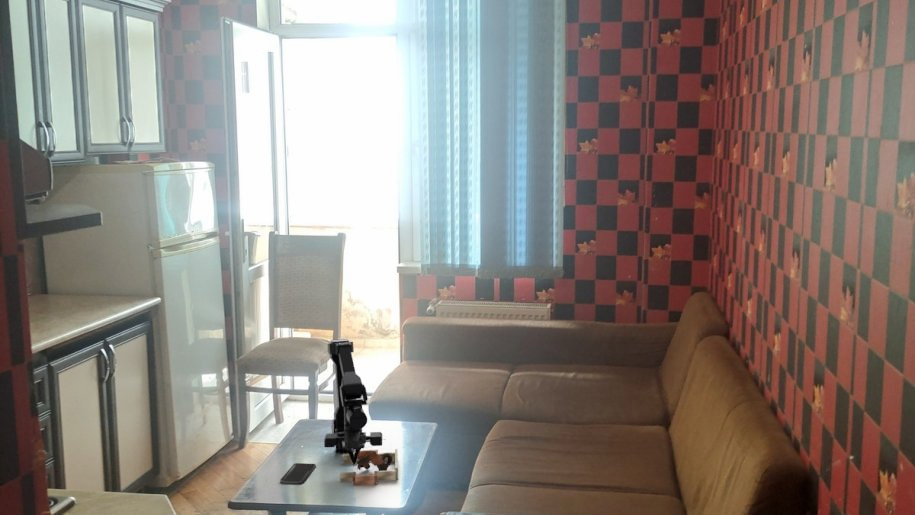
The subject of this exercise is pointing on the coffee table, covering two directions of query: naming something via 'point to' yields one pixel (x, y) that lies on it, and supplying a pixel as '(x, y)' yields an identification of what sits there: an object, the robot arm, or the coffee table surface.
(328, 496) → the coffee table surface
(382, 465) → the pottery mug
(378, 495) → the coffee table surface
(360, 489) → the coffee table surface
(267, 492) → the coffee table surface
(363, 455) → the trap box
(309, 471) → the phone
